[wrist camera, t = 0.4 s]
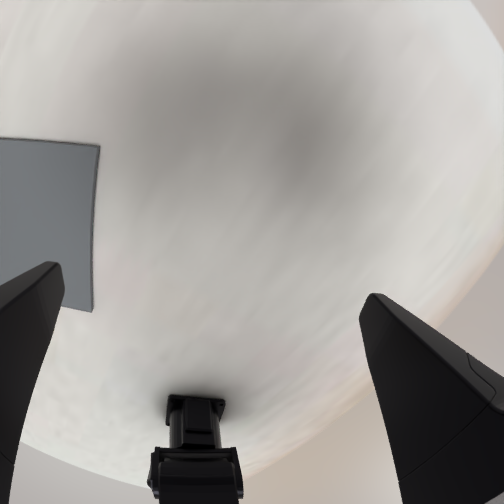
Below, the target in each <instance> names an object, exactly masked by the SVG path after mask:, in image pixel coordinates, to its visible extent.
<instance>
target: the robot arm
mask: <svg viewBox="0 0 504 504" xmlns="http://www.w3.org/2000/svg"><path fill="white" fill-rule="evenodd" d="M64 294H65V284H64V279H63V273H62V268H61V265H60V263H58V262H53V261H46V262H44V263H42V264H40V265H38V266H36V267H34V268H32V269H30V270H28V271H26V272H24V273H22V274H20V275H19V276H17V277H15V278H13V279H11V280H9V281H7V282H6V283H4V284H2V285H0V504H9V496H10V489H11V482H12V477H13V471H14V464H15V460H16V455H17V450H18V445H19V441H20V437H21V433H22V429H23V425H24V421H25V417H26V413H27V410H28V406H29V403H30V400H31V396H32V393H33V390H34V387H35V383H36V380H37V377H38V374H39V371H40V368H41V366H42V363H43V360H44V357H45V354H46V352H47V349H48V346H49V344H50V341H51V338H52V335H53V331H54V328H55V324H56V321H57V317H58V314H59V310H60V307H61V304H62V301H63V297H64ZM359 323H360V328H361V332H362V337H363V342H364V347H365V352H366V357H367V362H368V366H369V369H370V373H371V376H372V380H373V383H374V386H375V390H376V393H377V397H378V401H379V404H380V408H381V412H382V415H383V419H384V423H385V427H386V430H387V435H388V439H389V443H390V447H391V450H392V455H393V459H394V464H395V468H396V473H397V477H398V481H399V482H398V483H399V488H400V492H401V497H402V502H403V504H504V377H502V376H501V375H499V374H498V373H496V372H495V371H493V370H492V369H490V368H489V367H487V366H486V365H484V364H483V363H482V362H480V361H478V360H477V359H475V358H474V357H473V356H472V355H470V354H469V353H466V352H465V350H463V349H462V348H460V347H459V346H458V345H456V344H455V343H453V342H452V341H451V340H449V339H448V338H446V337H445V336H443V335H442V334H441V333H439V332H438V331H436V330H435V329H434V328H432V327H431V326H429V325H428V324H426V323H425V322H423V321H422V320H421V319H419V318H418V317H416V316H415V315H413V314H412V313H410V312H409V311H407V310H406V309H404V308H403V307H402V306H400V305H399V304H397V303H396V302H394V301H393V300H391V299H390V298H388V297H387V296H385V295H384V294H381V293H371V294H369V296H368V297H367V299H366V302H365V304H364V306H363V308H362V310H361V312H360V316H359ZM225 405H226V404H225V401H224V400H219V399H205V398H194V397H183V396H174V395H170V396H168V403H167V412H166V425H167V426H170V448H160V447H155V452H153V453H151V466H150V471H149V475H148V479H147V485H148V486H149V487H150V488H151V489H152V491H153V494H154V497H155V499H159V504H239V501H238V499H243V479H242V474H241V469H240V464H239V460H238V455H237V451H236V447H231V448H222V447H221V438H220V428H219V422H220V419H221V416H222V414H223V411H224V408H225Z"/></svg>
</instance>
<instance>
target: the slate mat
mask: <svg viewBox="0 0 504 504" xmlns="http://www.w3.org/2000/svg"><path fill="white" fill-rule="evenodd" d="M99 148H100V146H91V145H82V144H73V143H62V142H51V141H38V140H24V139H5V138H0V285H2V284H4V283H6V282H7V281H9V280H11V279H13V278H15V277H17V276H19V275H20V274H22V273H24V272H26V271H28V270H30V269H32V268H34V267H36V266H38V265H40V264H42V263H44V262H46V261H53V262H58V263H60V265H61V268H62V273H63V279H64V284H65V294H64V297H63V301H62V304H61V306H62V307H67V308H71V309H76V310H81V311H86V312H91V313H92V310H93V290H92V233H93V211H94V196H95V184H96V173H97V164H98V156H99Z"/></svg>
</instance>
